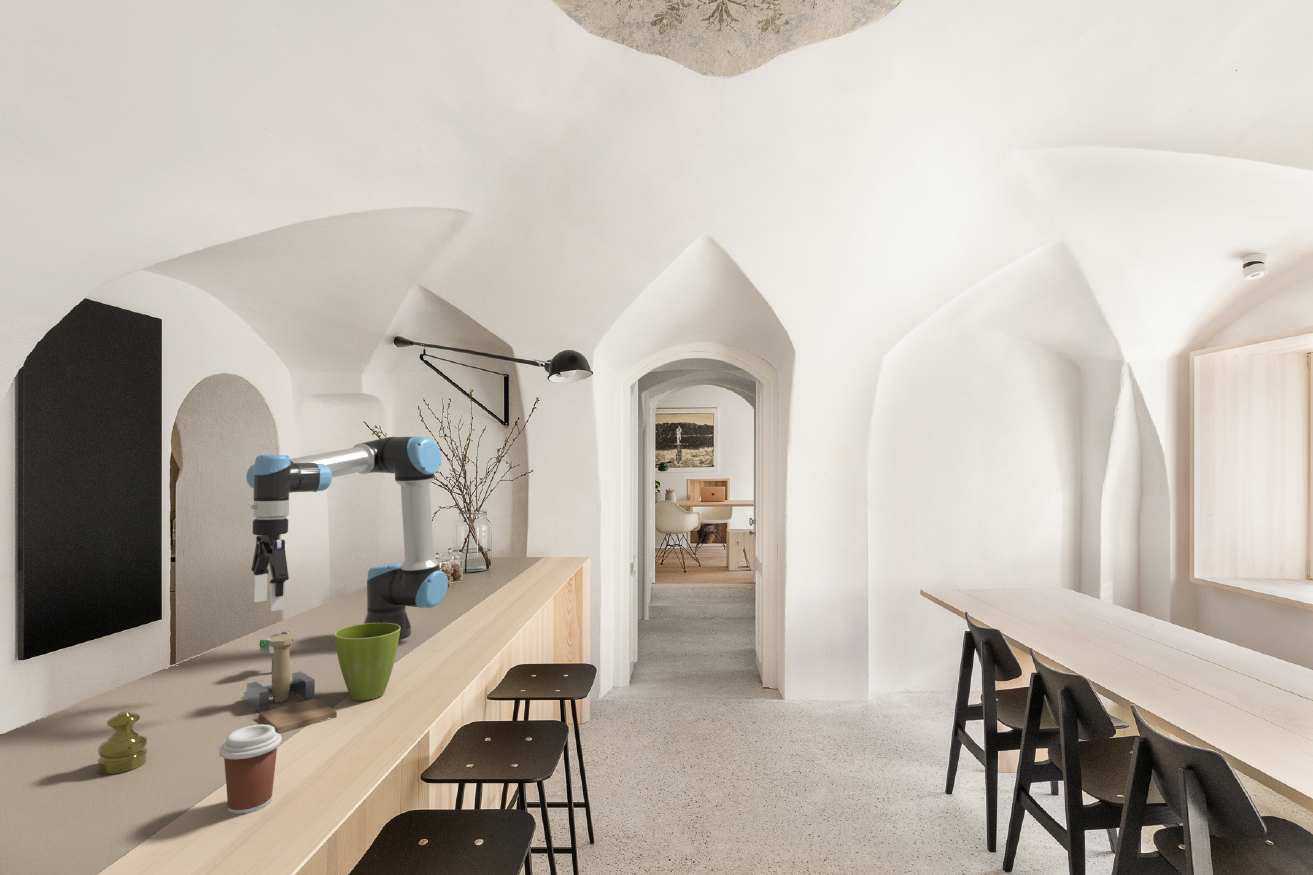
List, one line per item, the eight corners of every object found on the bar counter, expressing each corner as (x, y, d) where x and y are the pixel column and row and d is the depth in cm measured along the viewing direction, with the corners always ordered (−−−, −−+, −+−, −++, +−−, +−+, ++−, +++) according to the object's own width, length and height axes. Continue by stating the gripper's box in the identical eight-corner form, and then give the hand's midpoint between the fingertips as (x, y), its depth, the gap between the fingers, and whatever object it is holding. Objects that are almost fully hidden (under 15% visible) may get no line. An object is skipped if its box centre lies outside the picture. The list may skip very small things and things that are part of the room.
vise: (294, 685, 169) (294, 667, 169) (314, 698, 160) (314, 679, 160) (241, 698, 160) (241, 679, 160) (259, 712, 151) (259, 692, 151)
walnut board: (315, 703, 157) (315, 698, 157) (336, 717, 149) (336, 711, 149) (259, 718, 148) (259, 712, 148) (278, 733, 140) (278, 727, 140)
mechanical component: (292, 666, 184) (292, 630, 184) (267, 679, 173) (267, 640, 174) (282, 666, 184) (282, 630, 184) (256, 678, 174) (257, 640, 174)
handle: (264, 706, 155) (265, 641, 155) (275, 696, 161) (276, 634, 162) (286, 704, 156) (287, 641, 156) (296, 695, 162) (297, 633, 163)
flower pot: (319, 700, 159) (320, 633, 159) (371, 681, 172) (372, 619, 172) (361, 711, 152) (362, 641, 152) (412, 691, 165) (413, 626, 166)
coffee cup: (291, 789, 117) (292, 721, 117) (262, 818, 108) (263, 743, 108) (238, 790, 117) (239, 721, 117) (205, 818, 108) (206, 744, 108)
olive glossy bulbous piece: (141, 753, 131) (142, 702, 131) (152, 764, 126) (153, 711, 126) (93, 767, 125) (94, 713, 125) (102, 779, 120) (103, 724, 121)
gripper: (239, 515, 168) (236, 599, 167) (269, 522, 150) (267, 616, 149) (272, 513, 173) (269, 595, 172) (305, 520, 156) (302, 611, 155)
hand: (268, 605), depth 161 cm, fingers open, 13 cm apart
